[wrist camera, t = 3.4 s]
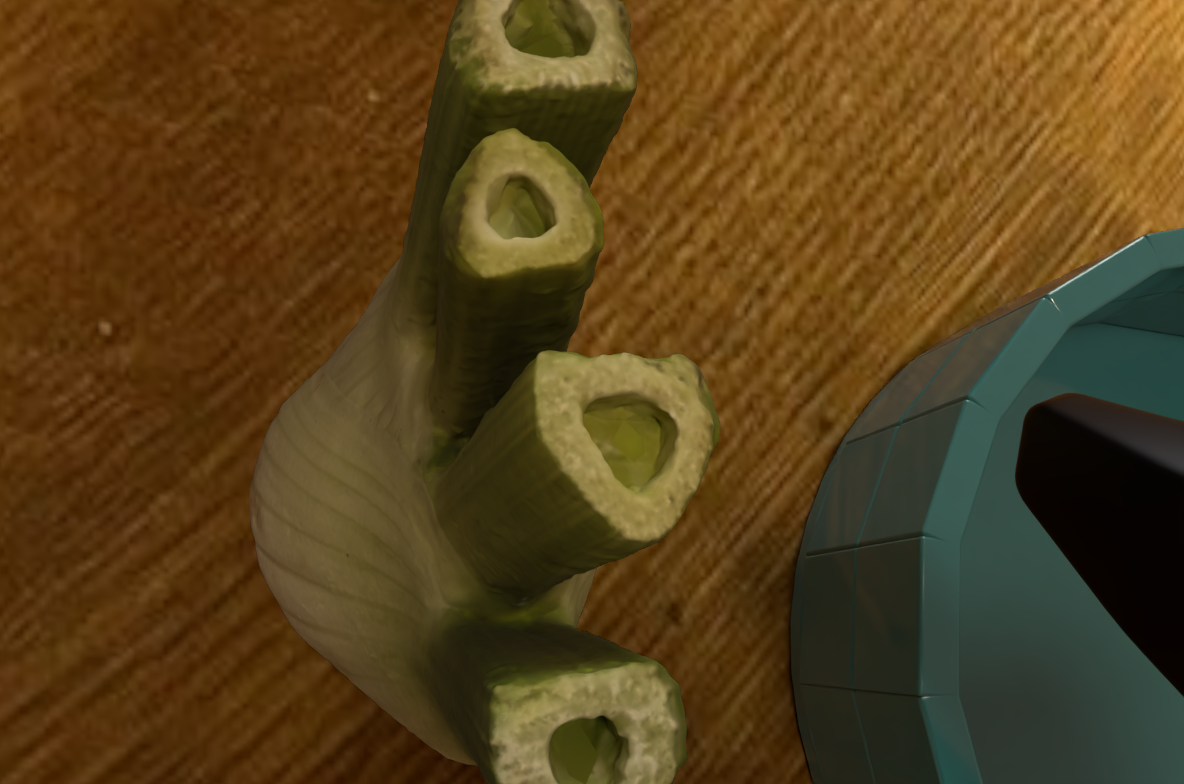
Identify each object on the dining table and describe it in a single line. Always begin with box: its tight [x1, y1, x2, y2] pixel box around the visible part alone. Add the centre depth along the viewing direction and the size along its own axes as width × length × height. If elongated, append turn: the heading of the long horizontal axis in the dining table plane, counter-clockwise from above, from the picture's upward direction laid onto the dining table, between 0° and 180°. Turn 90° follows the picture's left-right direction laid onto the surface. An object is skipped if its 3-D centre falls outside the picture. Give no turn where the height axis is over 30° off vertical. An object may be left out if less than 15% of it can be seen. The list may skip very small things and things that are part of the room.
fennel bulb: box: [249, 0, 720, 784], centre depth 12 cm, size 6×5×12 cm
